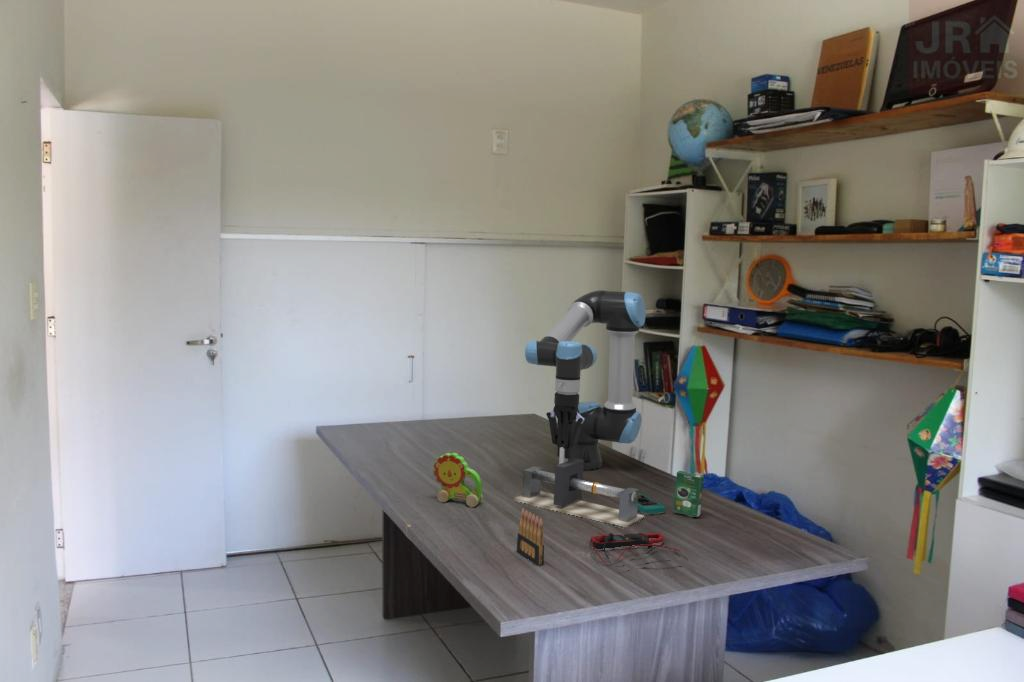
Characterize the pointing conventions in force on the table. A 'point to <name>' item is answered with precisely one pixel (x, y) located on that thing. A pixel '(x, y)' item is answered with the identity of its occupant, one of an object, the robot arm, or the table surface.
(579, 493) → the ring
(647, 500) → the digital multimeter
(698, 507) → the coffee box
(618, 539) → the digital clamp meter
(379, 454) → the table surface
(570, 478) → the pipe
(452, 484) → the toy lion
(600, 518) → the board
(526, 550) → the ammunition clip
